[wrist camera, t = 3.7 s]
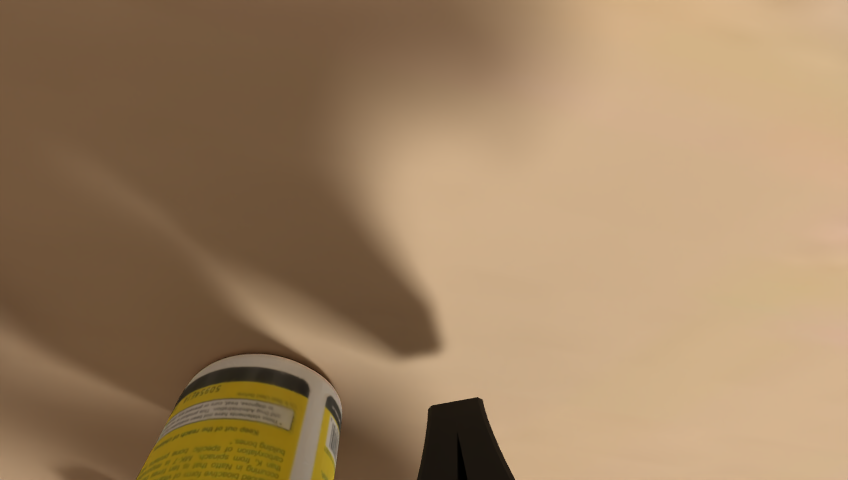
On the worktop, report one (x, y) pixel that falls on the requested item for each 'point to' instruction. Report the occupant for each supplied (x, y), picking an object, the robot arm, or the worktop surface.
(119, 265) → the worktop surface
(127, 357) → the worktop surface
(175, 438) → the supplement bottle
